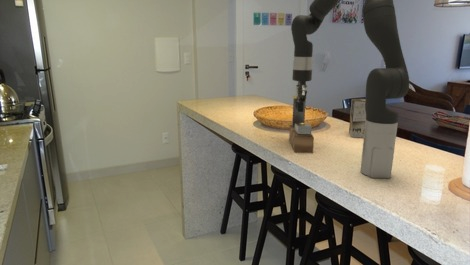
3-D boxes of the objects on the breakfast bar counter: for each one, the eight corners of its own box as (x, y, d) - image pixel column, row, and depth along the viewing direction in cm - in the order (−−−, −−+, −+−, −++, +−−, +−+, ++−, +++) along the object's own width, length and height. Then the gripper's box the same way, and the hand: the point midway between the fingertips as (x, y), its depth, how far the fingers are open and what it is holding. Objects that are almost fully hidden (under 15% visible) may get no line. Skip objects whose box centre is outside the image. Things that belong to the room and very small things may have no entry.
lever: (304, 125, 146) (306, 95, 143) (292, 125, 146) (293, 95, 143) (304, 124, 147) (305, 95, 144) (291, 124, 147) (292, 95, 145)
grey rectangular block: (311, 134, 130) (311, 125, 129) (297, 134, 130) (298, 124, 129) (307, 131, 138) (307, 122, 138) (294, 131, 139) (295, 122, 138)
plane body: (313, 152, 131) (314, 135, 129) (294, 152, 131) (294, 135, 130) (305, 139, 149) (306, 124, 147) (288, 139, 149) (289, 124, 147)
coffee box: (366, 138, 151) (369, 101, 147) (350, 137, 152) (354, 101, 148) (362, 132, 160) (366, 98, 156) (348, 132, 161) (351, 97, 157)
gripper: (315, 69, 130) (312, 114, 135) (309, 67, 143) (306, 108, 147) (295, 69, 131) (293, 114, 135) (291, 67, 143) (289, 108, 148)
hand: (300, 111), depth 141 cm, fingers closed
